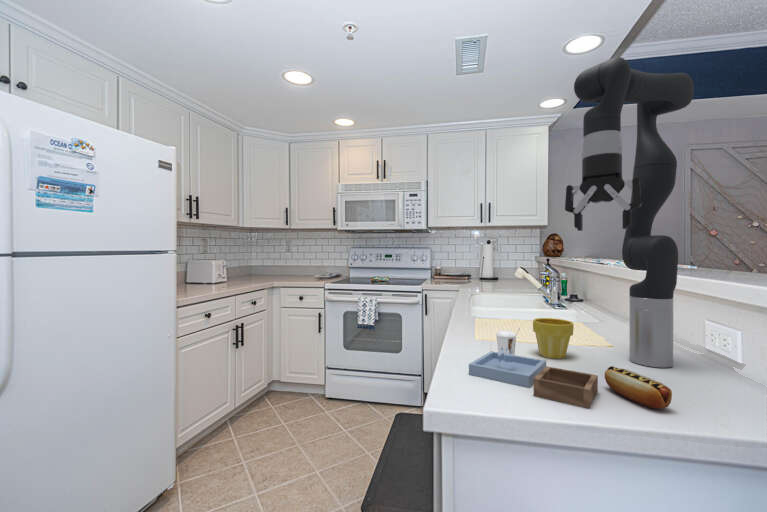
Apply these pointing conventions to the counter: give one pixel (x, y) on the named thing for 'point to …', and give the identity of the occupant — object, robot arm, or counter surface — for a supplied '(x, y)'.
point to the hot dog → (638, 388)
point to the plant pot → (552, 336)
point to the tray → (519, 375)
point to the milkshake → (506, 349)
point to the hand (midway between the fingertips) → (601, 229)
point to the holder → (566, 386)
